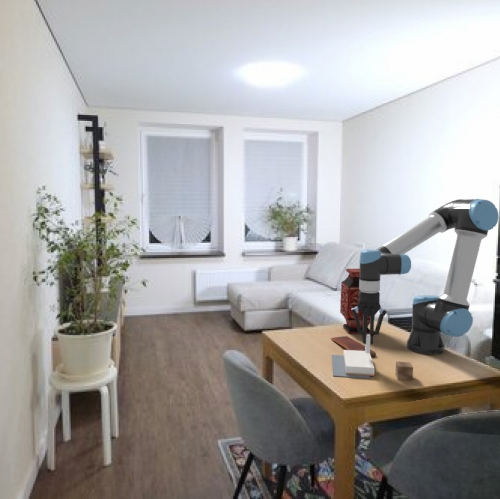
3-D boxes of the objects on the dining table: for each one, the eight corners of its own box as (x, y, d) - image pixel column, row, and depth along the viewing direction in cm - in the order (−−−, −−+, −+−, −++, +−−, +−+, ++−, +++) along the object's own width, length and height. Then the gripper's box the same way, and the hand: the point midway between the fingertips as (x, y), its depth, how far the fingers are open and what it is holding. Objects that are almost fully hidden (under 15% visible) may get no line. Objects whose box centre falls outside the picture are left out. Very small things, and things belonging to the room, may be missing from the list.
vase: (375, 334, 208) (377, 272, 205) (346, 334, 207) (348, 272, 204) (366, 326, 222) (367, 267, 218) (339, 326, 221) (340, 268, 218)
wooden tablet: (377, 356, 178) (377, 352, 177) (355, 357, 175) (355, 353, 175) (349, 337, 203) (349, 333, 203) (329, 338, 201) (329, 335, 201)
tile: (369, 351, 174) (343, 349, 176) (374, 367, 157) (346, 366, 158) (368, 358, 175) (343, 357, 176) (374, 375, 157) (345, 374, 159)
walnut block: (409, 375, 159) (410, 362, 158) (412, 381, 154) (413, 367, 153) (395, 374, 159) (395, 361, 159) (397, 380, 154) (398, 366, 154)
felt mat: (364, 357, 177) (364, 356, 177) (370, 378, 155) (370, 377, 155) (331, 355, 179) (331, 354, 179) (333, 376, 157) (333, 375, 157)
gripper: (385, 289, 166) (383, 349, 168) (350, 288, 168) (349, 348, 170) (388, 293, 158) (386, 356, 161) (352, 292, 160) (350, 354, 163)
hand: (367, 352), depth 166 cm, fingers closed
